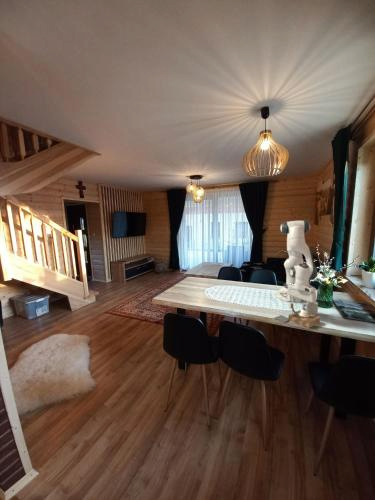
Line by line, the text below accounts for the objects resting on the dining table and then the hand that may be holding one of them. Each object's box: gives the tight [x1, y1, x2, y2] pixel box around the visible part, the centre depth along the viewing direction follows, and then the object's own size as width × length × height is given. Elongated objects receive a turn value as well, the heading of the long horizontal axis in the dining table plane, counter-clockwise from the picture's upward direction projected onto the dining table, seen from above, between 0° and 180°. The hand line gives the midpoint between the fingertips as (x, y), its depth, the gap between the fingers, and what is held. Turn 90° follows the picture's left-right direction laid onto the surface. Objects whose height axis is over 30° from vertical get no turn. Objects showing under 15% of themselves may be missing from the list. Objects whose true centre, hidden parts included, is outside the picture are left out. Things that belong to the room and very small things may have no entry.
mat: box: [273, 315, 291, 324], centre depth 144 cm, size 8×8×1 cm
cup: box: [301, 301, 319, 316], centre depth 153 cm, size 7×10×9 cm
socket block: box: [287, 309, 321, 329], centre depth 140 cm, size 14×14×5 cm
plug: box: [299, 307, 309, 318], centre depth 140 cm, size 6×6×9 cm
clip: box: [289, 302, 297, 315], centre depth 145 cm, size 15×3×3 cm, turn 161°
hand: (299, 304), depth 149 cm, fingers open, 8 cm apart
